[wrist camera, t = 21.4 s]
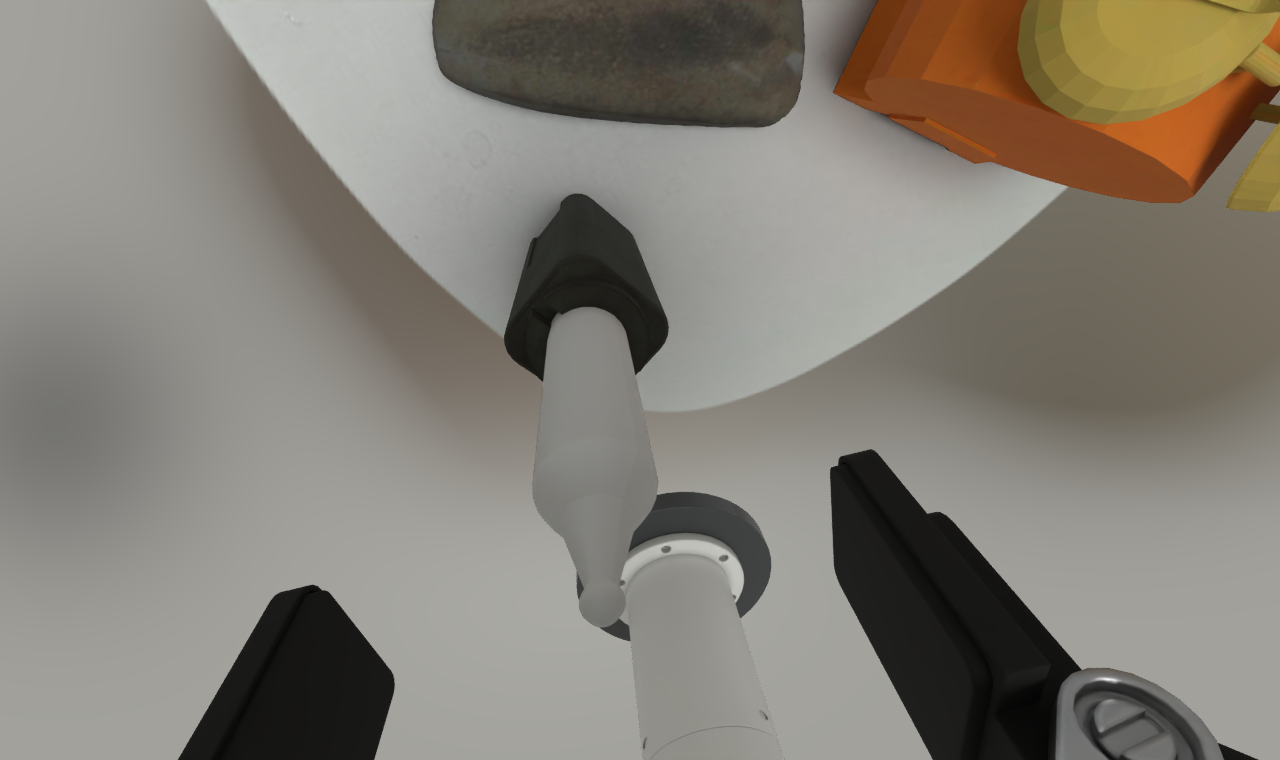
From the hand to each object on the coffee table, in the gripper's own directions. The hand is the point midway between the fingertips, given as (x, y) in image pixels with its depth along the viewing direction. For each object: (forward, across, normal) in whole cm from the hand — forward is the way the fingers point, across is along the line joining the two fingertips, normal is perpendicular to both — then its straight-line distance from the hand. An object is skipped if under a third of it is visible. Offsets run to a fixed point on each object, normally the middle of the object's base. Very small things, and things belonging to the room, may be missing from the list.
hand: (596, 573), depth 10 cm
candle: (+24, 0, +1) cm, 24 cm away
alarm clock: (+24, -21, -4) cm, 32 cm away
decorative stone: (+24, -4, -8) cm, 26 cm away
